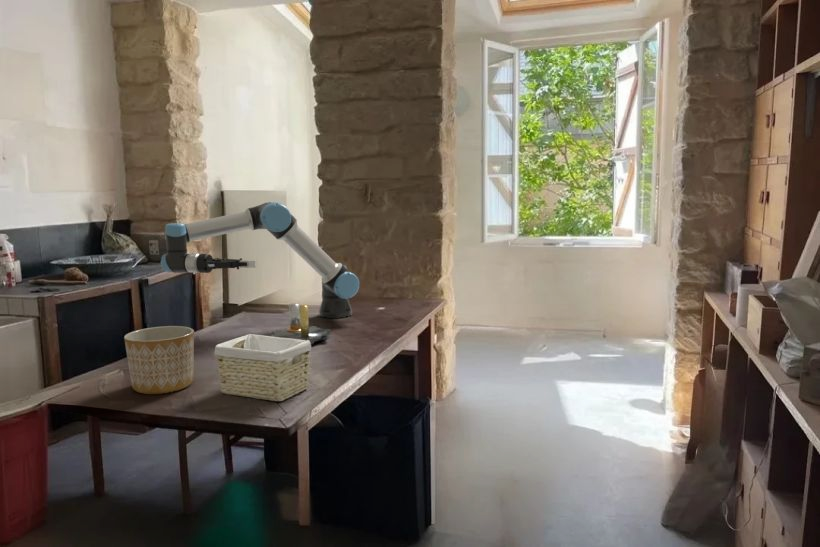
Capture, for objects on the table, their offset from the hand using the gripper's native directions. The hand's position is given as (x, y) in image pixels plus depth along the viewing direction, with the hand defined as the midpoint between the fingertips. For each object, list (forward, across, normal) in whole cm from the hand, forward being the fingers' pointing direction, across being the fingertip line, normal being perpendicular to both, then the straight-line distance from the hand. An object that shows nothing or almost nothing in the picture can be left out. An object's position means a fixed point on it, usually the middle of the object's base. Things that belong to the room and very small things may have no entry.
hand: (256, 264), depth 240 cm
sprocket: (+17, -1, -29) cm, 33 cm away
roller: (+13, -6, -27) cm, 30 cm away
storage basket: (+29, +58, -30) cm, 71 cm away
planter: (-4, +59, -30) cm, 66 cm away
